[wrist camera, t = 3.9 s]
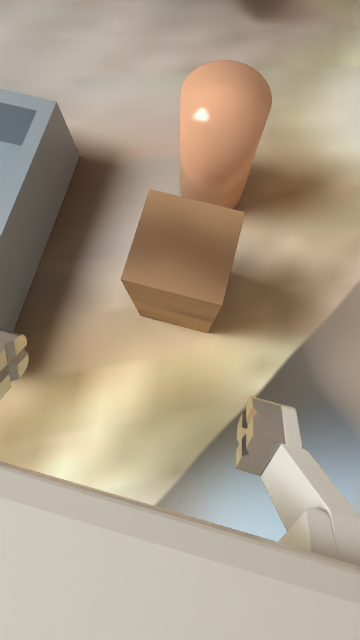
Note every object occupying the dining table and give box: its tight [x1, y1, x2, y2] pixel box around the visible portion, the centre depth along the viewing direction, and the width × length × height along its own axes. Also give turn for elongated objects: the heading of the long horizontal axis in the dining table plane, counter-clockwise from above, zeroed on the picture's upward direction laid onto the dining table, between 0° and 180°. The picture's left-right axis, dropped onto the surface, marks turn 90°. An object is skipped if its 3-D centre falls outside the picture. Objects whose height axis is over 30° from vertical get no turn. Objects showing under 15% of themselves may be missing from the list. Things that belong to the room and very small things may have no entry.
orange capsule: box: [180, 60, 272, 209], centre depth 21 cm, size 5×5×8 cm
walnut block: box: [121, 189, 245, 333], centre depth 19 cm, size 5×5×8 cm
